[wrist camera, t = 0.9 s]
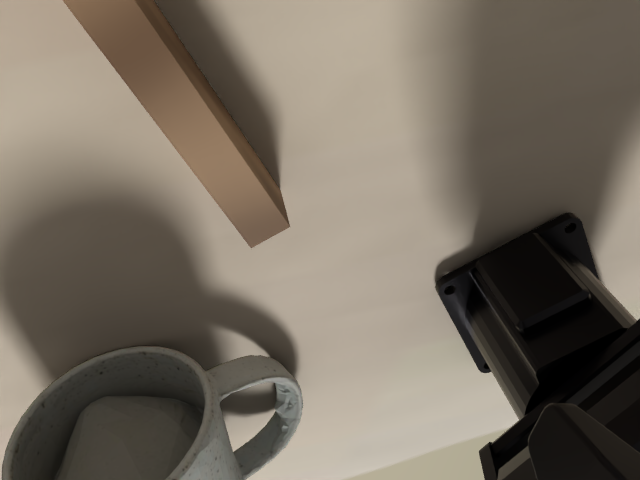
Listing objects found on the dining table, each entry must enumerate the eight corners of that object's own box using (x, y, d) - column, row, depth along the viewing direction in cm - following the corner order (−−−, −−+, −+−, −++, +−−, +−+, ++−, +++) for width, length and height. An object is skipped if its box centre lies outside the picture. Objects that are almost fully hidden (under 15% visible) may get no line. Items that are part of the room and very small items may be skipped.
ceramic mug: (99, 485, 29) (78, 663, 22) (23, 371, 24) (-31, 555, 18) (311, 426, 30) (348, 582, 23) (276, 303, 25) (311, 458, 19)
